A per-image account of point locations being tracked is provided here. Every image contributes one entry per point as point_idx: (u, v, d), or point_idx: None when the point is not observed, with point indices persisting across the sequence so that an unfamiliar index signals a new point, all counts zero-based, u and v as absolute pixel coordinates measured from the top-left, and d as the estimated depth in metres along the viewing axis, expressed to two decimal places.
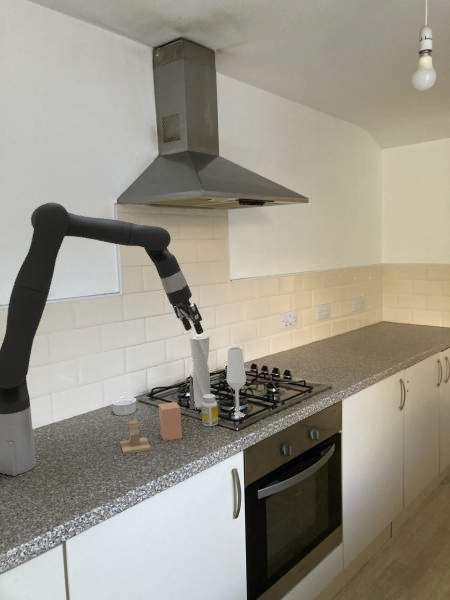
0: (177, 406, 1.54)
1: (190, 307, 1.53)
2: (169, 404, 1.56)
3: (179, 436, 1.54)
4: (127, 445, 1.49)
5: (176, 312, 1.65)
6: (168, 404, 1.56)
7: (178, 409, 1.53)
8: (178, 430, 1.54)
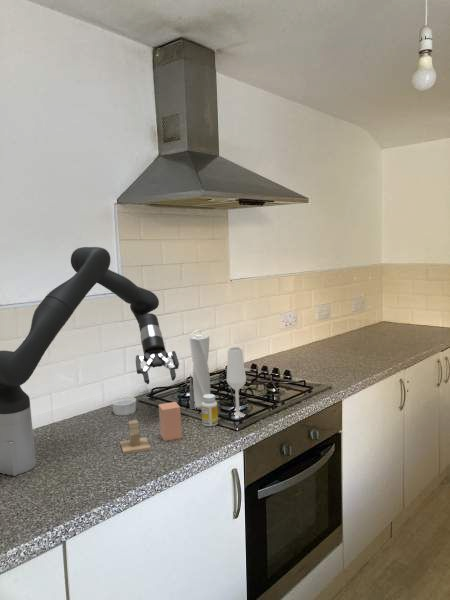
0: (177, 406, 1.54)
1: None
2: (169, 404, 1.56)
3: (179, 436, 1.54)
4: (127, 445, 1.49)
5: None
6: (168, 404, 1.56)
7: (178, 409, 1.53)
8: (178, 430, 1.54)
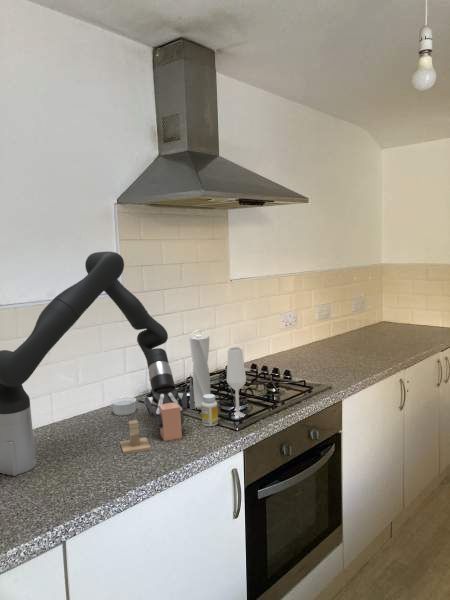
0: (177, 406, 1.54)
1: (186, 393, 1.61)
2: (169, 404, 1.56)
3: (179, 436, 1.54)
4: (127, 445, 1.49)
5: (151, 405, 1.55)
6: (168, 404, 1.56)
7: (178, 409, 1.53)
8: (178, 430, 1.54)
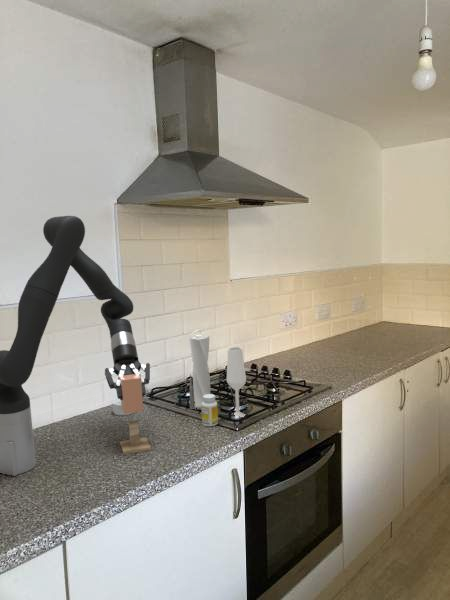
0: (138, 377, 1.46)
1: (149, 365, 1.53)
2: (130, 375, 1.48)
3: (140, 409, 1.46)
4: (127, 445, 1.49)
5: (111, 377, 1.47)
6: (129, 375, 1.48)
7: (139, 380, 1.45)
8: (139, 402, 1.45)
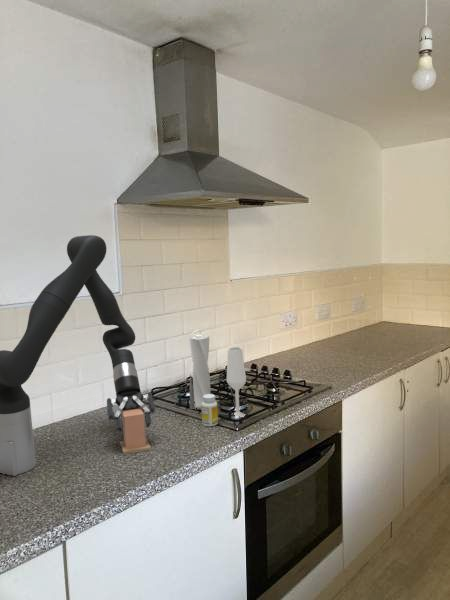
0: (141, 413, 1.47)
1: None
2: (133, 411, 1.49)
3: (143, 444, 1.47)
4: None
5: (111, 408, 1.49)
6: (132, 411, 1.49)
7: (141, 416, 1.46)
8: (142, 438, 1.47)
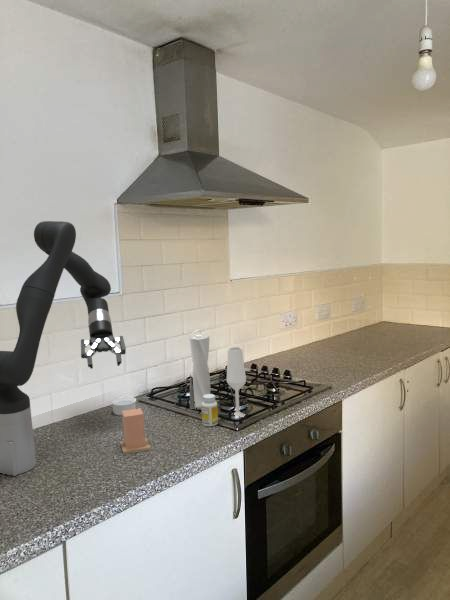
0: (141, 413, 1.47)
1: (122, 337, 1.67)
2: (133, 411, 1.49)
3: (143, 444, 1.47)
4: None
5: (84, 347, 1.61)
6: (132, 411, 1.49)
7: (141, 416, 1.46)
8: (142, 438, 1.47)
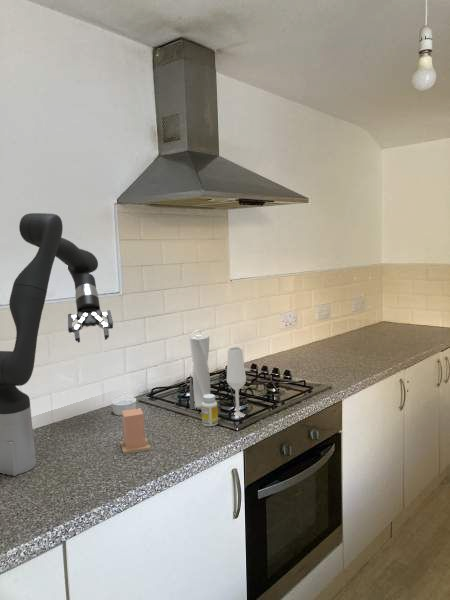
0: (141, 413, 1.47)
1: (109, 311, 1.67)
2: (133, 411, 1.49)
3: (143, 444, 1.47)
4: None
5: (71, 322, 1.61)
6: (132, 411, 1.49)
7: (141, 416, 1.46)
8: (142, 438, 1.47)
